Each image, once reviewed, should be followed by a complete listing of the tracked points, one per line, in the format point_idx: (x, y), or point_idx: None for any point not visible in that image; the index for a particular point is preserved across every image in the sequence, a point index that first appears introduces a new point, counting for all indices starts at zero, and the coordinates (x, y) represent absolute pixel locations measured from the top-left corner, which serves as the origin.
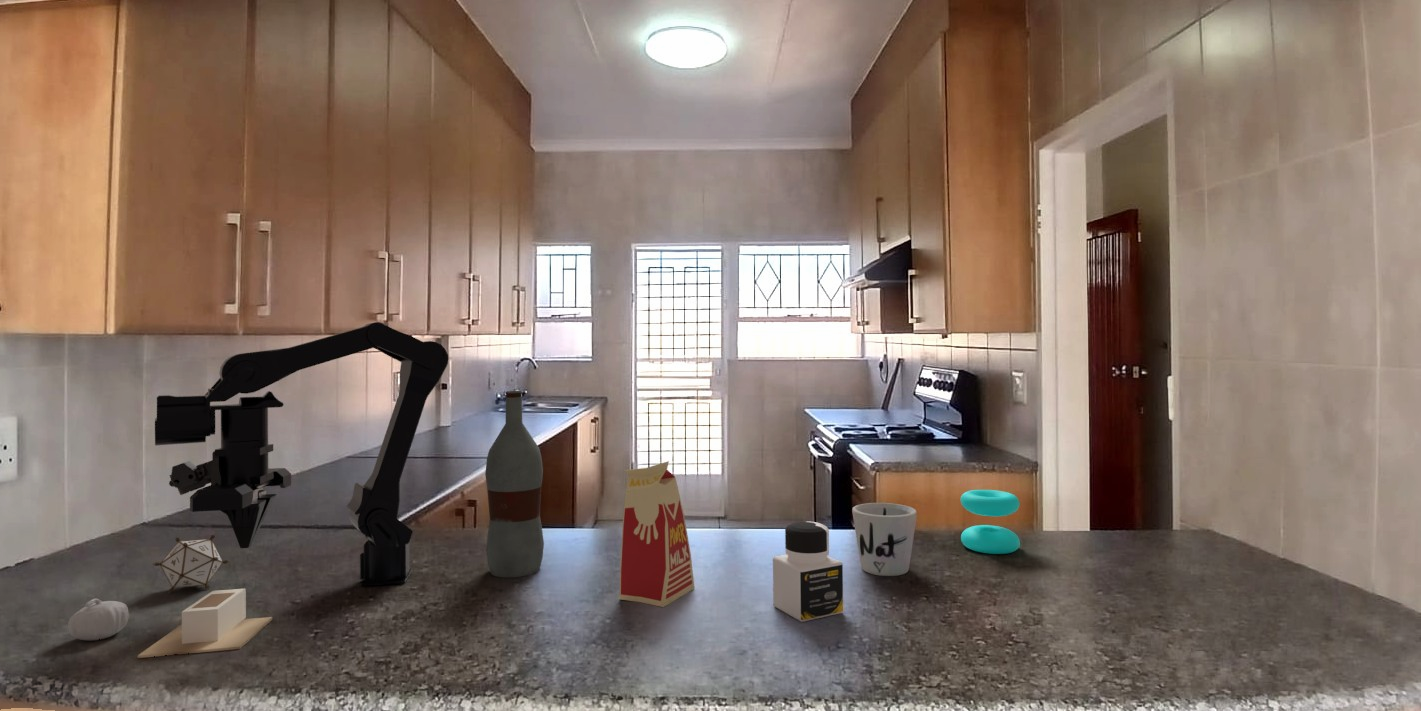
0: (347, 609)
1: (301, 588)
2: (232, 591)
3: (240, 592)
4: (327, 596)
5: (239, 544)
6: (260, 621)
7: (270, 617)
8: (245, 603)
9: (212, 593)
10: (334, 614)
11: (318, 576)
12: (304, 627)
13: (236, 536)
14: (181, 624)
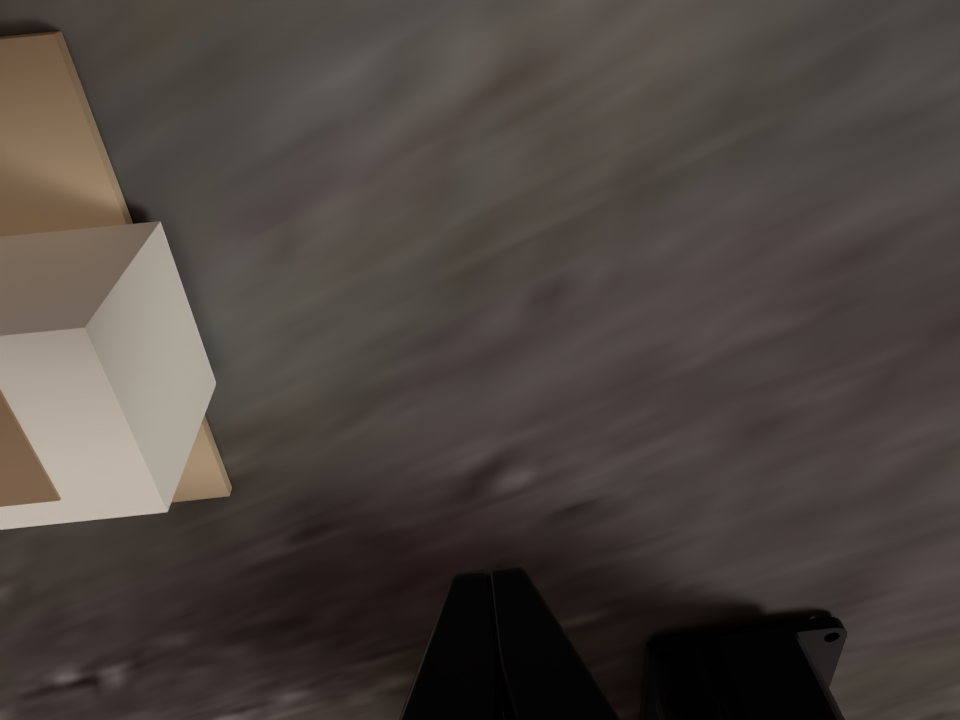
0: (354, 679)
1: (739, 412)
2: (86, 471)
3: (81, 520)
4: (551, 566)
5: (439, 612)
6: None
7: (222, 491)
8: (192, 439)
9: (16, 362)
10: (295, 663)
11: (957, 406)
12: (139, 630)
13: (402, 717)
14: (54, 36)
